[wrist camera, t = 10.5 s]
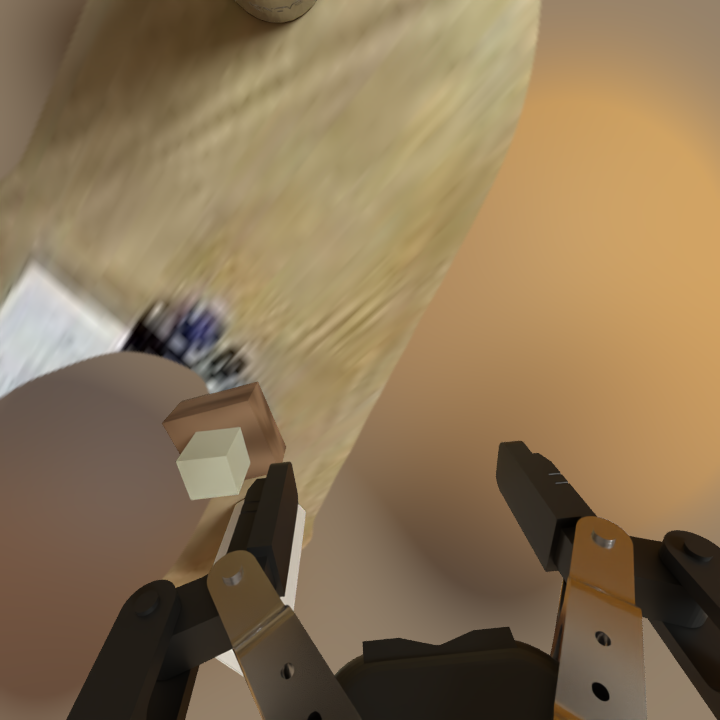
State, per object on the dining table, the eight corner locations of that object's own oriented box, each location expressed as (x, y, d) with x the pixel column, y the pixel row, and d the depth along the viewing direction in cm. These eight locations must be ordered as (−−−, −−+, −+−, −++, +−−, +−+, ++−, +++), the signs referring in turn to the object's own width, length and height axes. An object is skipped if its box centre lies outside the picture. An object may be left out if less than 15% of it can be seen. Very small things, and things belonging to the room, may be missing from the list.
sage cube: (195, 432, 38) (175, 461, 34) (240, 427, 38) (226, 455, 34) (208, 467, 40) (190, 500, 36) (250, 462, 40) (238, 494, 36)
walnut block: (181, 400, 42) (161, 423, 38) (258, 380, 42) (247, 400, 37) (215, 463, 46) (201, 490, 42) (286, 445, 46) (280, 471, 41)
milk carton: (267, 532, 51) (228, 697, 33) (235, 502, 48) (175, 664, 31) (306, 511, 50) (286, 671, 32) (275, 479, 47) (235, 634, 30)
